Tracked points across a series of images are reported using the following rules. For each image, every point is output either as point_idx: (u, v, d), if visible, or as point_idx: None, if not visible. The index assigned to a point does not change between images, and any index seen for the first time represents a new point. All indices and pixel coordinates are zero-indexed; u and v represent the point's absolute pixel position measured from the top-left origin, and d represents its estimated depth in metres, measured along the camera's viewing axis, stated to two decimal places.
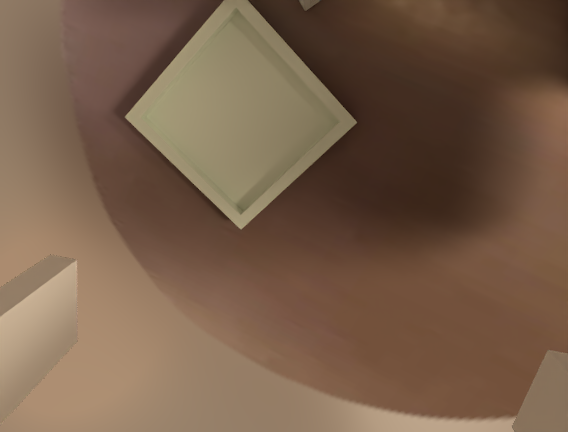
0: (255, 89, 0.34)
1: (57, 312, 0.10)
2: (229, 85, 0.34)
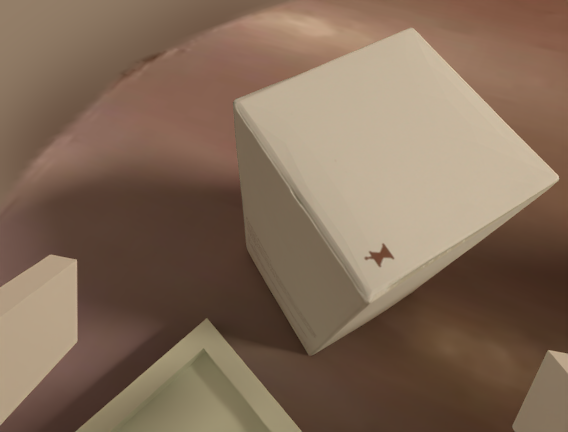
0: None
1: (57, 312, 0.10)
2: None
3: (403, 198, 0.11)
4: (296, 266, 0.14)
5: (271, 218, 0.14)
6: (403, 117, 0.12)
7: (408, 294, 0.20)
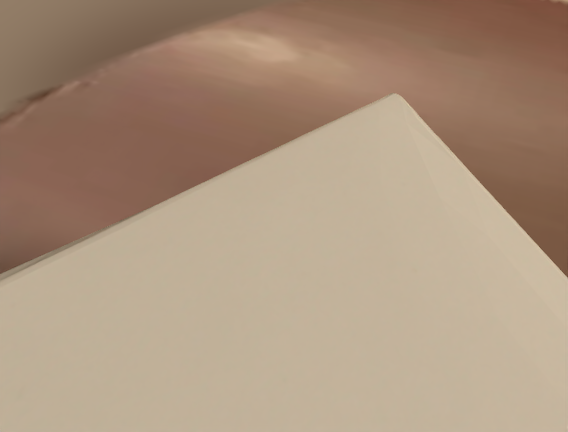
0: None
1: None
2: None
3: None
4: None
5: None
6: (367, 397, 0.04)
7: None
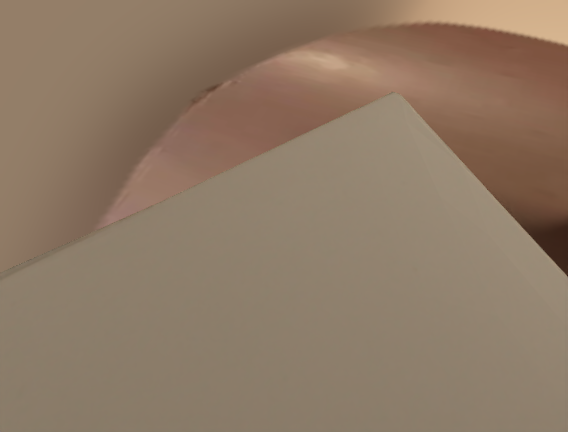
0: None
1: None
2: None
3: None
4: None
5: None
6: (369, 396, 0.04)
7: None
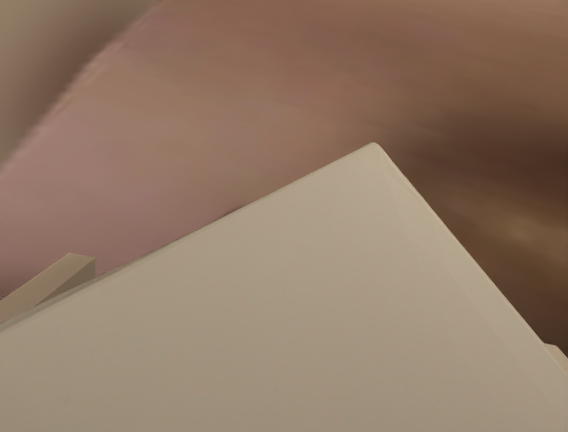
0: None
1: None
2: None
3: None
4: None
5: None
6: (343, 403, 0.05)
7: None
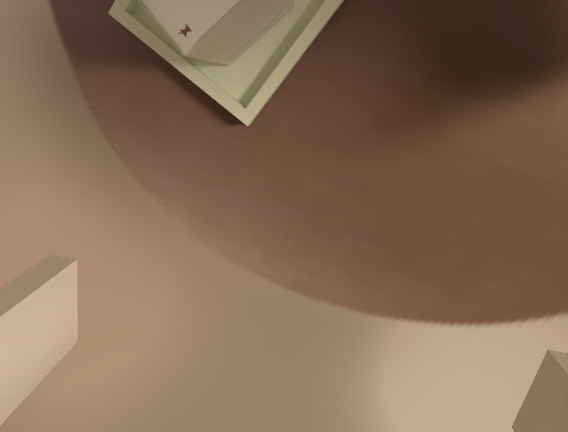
0: None
1: (57, 312, 0.10)
2: None
3: None
4: None
5: None
6: None
7: (275, 17, 0.30)
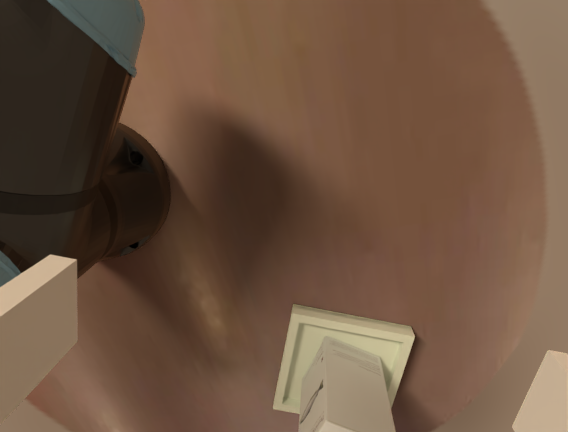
0: None
1: (57, 312, 0.10)
2: None
3: None
4: None
5: None
6: None
7: (340, 355, 0.44)
